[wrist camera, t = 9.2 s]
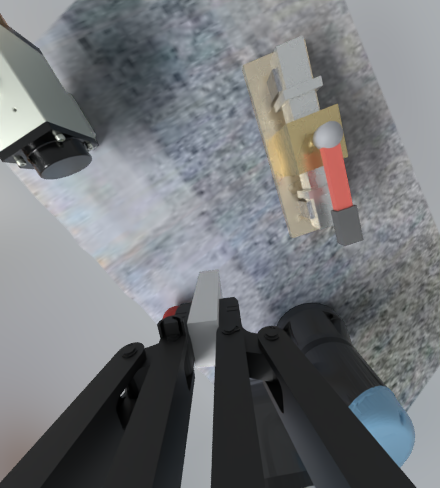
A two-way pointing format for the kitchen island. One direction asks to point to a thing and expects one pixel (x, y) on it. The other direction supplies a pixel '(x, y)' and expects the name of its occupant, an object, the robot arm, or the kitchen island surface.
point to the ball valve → (38, 113)
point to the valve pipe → (293, 133)
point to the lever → (338, 183)
